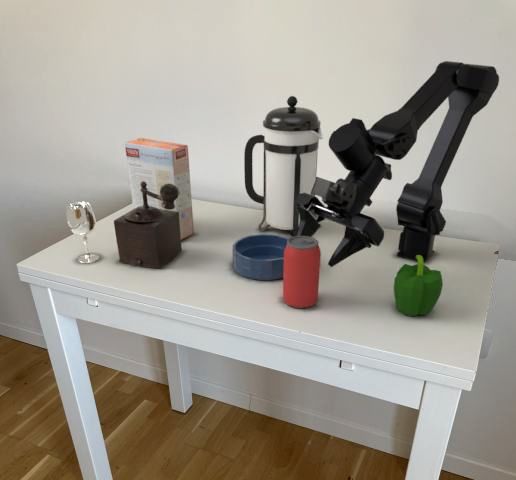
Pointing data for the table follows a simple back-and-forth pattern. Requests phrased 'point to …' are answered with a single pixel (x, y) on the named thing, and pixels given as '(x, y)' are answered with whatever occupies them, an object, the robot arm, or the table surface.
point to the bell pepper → (417, 288)
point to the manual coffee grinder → (150, 231)
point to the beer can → (301, 271)
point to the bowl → (260, 256)
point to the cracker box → (161, 176)
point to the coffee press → (285, 163)
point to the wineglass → (82, 225)
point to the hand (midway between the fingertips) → (311, 257)
